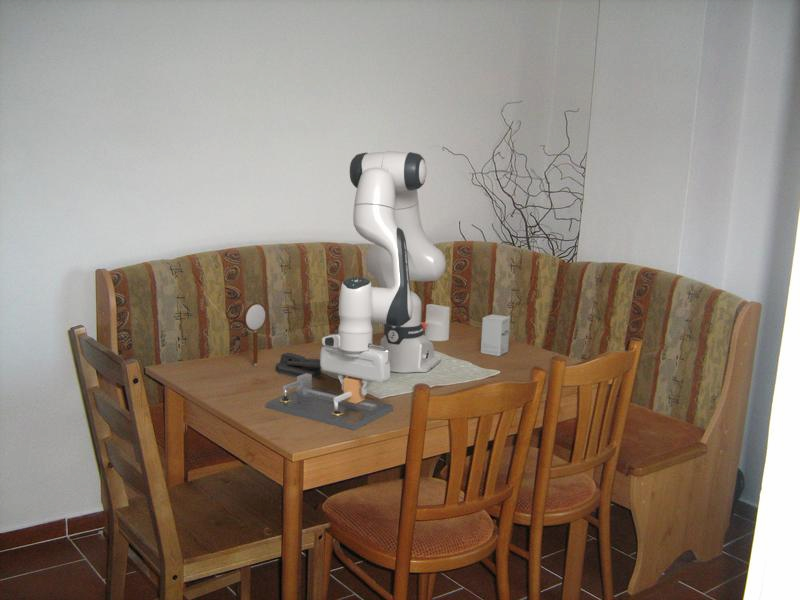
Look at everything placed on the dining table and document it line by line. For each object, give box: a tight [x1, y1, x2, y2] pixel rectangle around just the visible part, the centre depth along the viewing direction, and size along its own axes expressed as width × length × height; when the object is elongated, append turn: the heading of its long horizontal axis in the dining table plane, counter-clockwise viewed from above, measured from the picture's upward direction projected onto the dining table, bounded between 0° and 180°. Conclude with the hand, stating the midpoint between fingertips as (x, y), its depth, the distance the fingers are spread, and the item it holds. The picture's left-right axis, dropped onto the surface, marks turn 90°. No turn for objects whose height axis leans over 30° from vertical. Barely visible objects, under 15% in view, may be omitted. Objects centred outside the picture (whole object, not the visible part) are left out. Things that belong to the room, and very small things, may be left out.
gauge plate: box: [266, 373, 394, 431], centre depth 204 cm, size 18×28×6 cm, turn 58°
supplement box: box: [480, 314, 511, 357], centre depth 266 cm, size 7×7×13 cm
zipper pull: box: [275, 352, 322, 380], centre depth 233 cm, size 9×7×25 cm
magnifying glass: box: [243, 302, 267, 367], centre depth 241 cm, size 9×2×20 cm, turn 141°
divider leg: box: [334, 376, 366, 411], centre depth 201 cm, size 10×4×6 cm, turn 148°
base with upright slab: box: [424, 303, 451, 342], centre depth 285 cm, size 9×9×12 cm
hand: (354, 392), depth 203 cm, fingers closed on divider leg, 4 cm apart
